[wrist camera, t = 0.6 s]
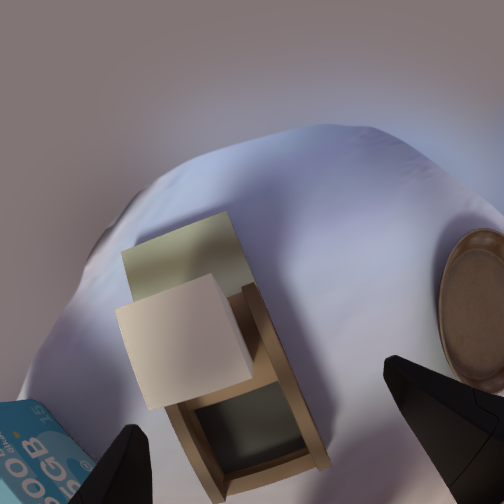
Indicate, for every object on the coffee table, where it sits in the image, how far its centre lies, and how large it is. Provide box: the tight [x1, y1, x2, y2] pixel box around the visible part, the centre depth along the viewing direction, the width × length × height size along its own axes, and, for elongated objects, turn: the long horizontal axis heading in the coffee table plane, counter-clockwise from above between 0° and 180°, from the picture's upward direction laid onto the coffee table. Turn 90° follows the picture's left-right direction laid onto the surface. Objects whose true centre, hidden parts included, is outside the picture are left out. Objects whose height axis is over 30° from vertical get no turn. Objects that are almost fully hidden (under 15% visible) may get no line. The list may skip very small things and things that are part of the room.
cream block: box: [115, 273, 253, 411], centre depth 17 cm, size 5×5×10 cm
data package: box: [0, 399, 96, 504], centre depth 14 cm, size 12×4×12 cm, turn 52°
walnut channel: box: [121, 211, 331, 504], centre depth 21 cm, size 23×10×4 cm, turn 22°
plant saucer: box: [438, 228, 504, 394], centre depth 22 cm, size 18×18×3 cm
